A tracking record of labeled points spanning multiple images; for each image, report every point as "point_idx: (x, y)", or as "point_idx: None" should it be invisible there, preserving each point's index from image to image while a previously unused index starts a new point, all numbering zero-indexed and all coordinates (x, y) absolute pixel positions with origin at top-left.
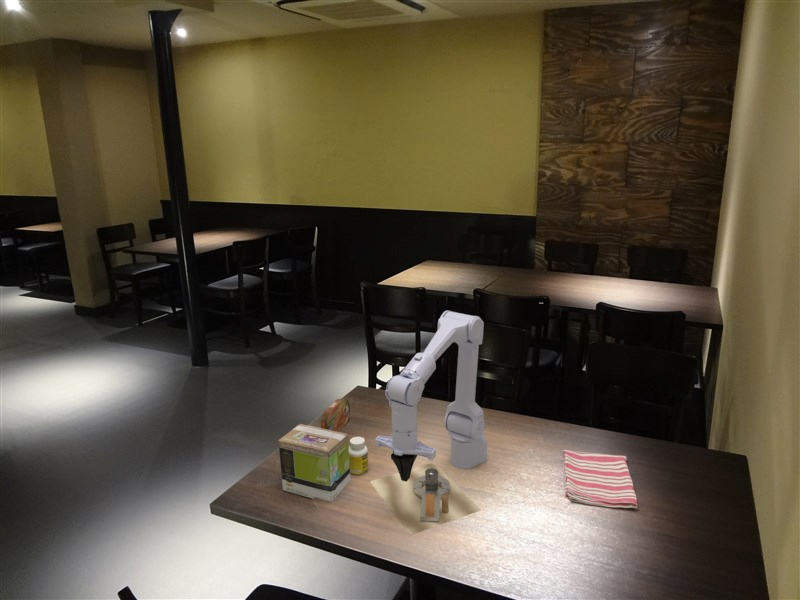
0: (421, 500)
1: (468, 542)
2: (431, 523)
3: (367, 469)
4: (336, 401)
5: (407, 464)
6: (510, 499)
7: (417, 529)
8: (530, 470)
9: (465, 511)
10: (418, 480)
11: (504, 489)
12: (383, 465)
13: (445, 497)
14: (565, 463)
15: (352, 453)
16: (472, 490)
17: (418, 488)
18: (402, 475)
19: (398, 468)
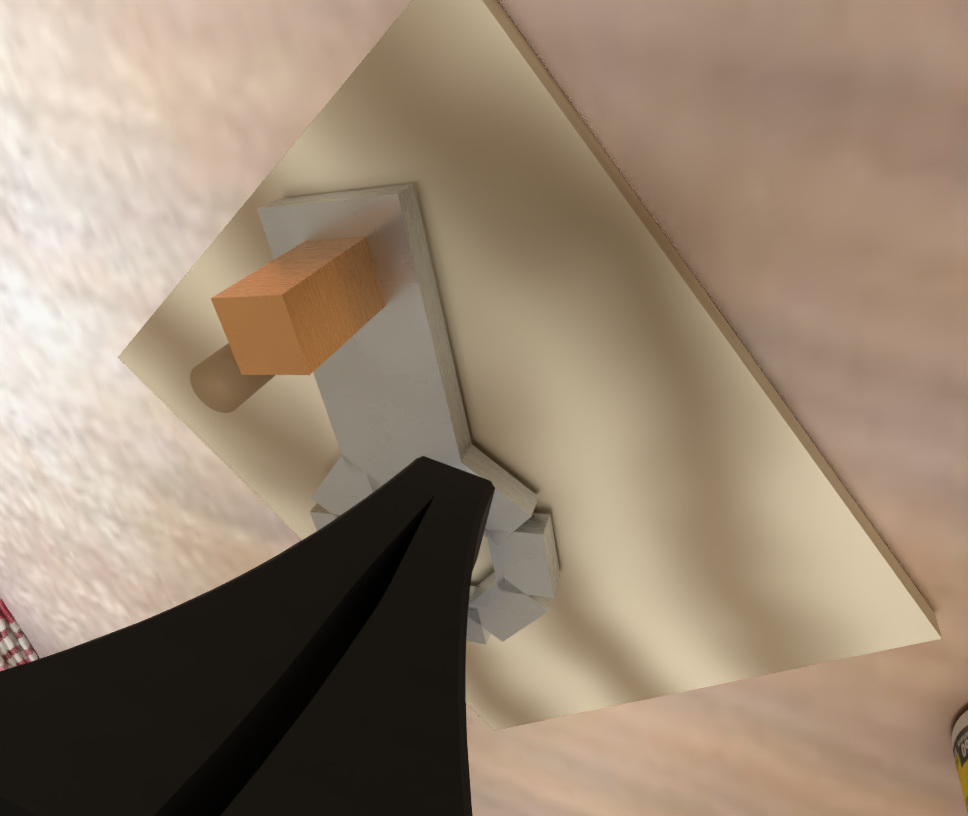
0: (475, 426)
1: (73, 43)
2: (330, 173)
3: (965, 752)
4: None
5: (84, 672)
6: (76, 456)
7: (409, 63)
8: (102, 622)
9: (183, 335)
10: (524, 599)
11: (130, 522)
12: (822, 764)
13: (206, 377)
14: (2, 637)
15: None
16: (252, 522)
17: (504, 525)
18: (425, 523)
19: (433, 637)
